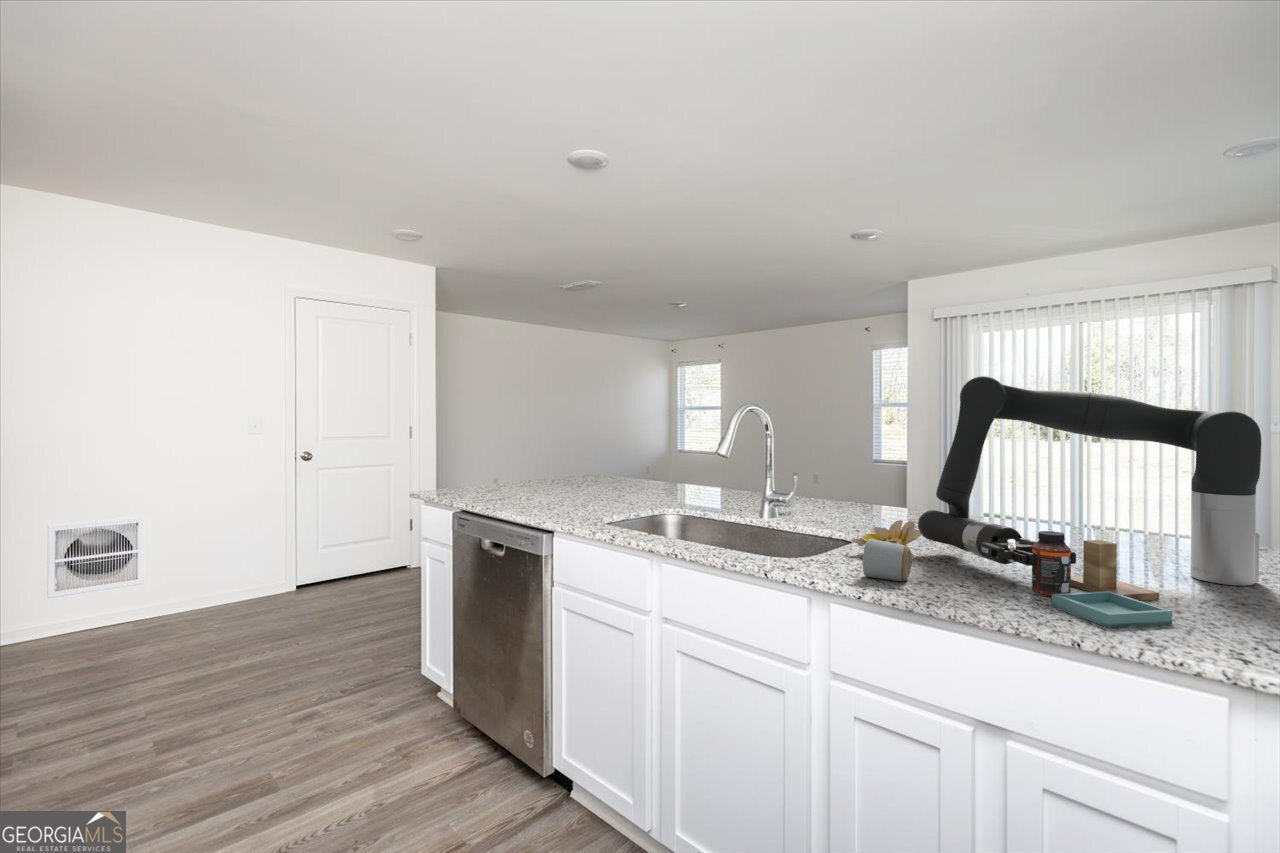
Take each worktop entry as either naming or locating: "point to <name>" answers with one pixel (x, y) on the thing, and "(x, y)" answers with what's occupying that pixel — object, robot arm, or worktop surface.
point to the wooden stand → (1106, 572)
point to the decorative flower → (892, 534)
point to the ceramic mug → (886, 560)
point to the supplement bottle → (1051, 564)
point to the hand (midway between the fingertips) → (1053, 559)
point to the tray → (1111, 609)
